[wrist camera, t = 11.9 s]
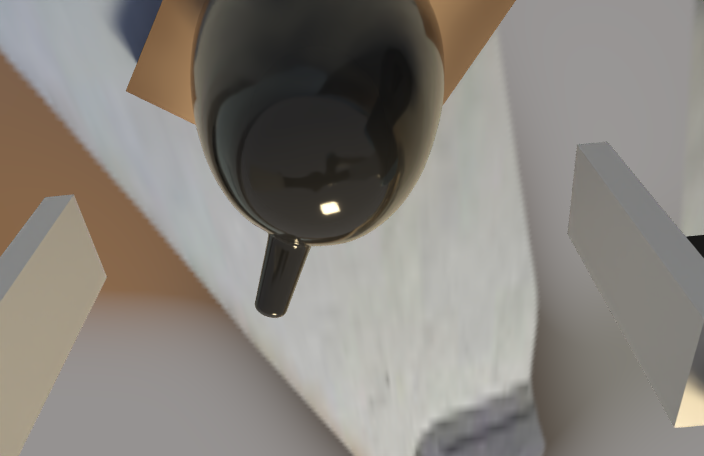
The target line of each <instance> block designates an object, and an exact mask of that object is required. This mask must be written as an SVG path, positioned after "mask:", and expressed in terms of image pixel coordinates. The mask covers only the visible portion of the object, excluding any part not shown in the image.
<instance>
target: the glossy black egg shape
mask: <svg viewBox="0 0 704 456" xmlns="http://www.w3.org/2000/svg"><path fill="white" fill-rule="evenodd" d="M444 85H445V64H444V49H443V42H442V36H441V32H440V28H439V24H438V21H437V18H436V15H435V12H434V10H433V8H432V5H431V3H430V1H429V0H205V1H204V4H203V6H202V8H201V11H200V14H199V17H198V20H197V23H196V27H195V31H194V37H193V43H192V52H191V65H190V88H191V99H192V107H193V113H194V118H195V123H196V127H197V132H198V136H199V139H200V143H201V146H202V149H203V152H204V155H205V158H206V160H207V163H208V165H209V167H210V170H211V172H212V174H213V176H214V178H215V179H216V181H217V183H218V185H219V186H220V188H221V190H222V191H223V193H224V194H225V196H226V197H227V198H228V200H229V201H230V202H231V204H232V205H233V206H234V207H235V208H236V209H237V210H238V211H239V212H240V213H241V214H242V215H243V216H244V217H245V218H246V219H247V220H248V221H250V222H251V223H252V224H254V225H256V226H257V227H259V228H261V229H263V230H265V231H266V232H267V233H268V241H267V246H266V251H265V256H264V261H263V266H262V271H261V276H260V281H259V286H258V291H257V296H256V301H255V307H256V309H257V310H258V312H260V313H261V314H262V315H264V316H267V317H271V318H278V317H281V316H283V315H284V314H285V313H286V312H287V309H288V306H289V304H290V301H291V298H292V296H293V293H294V290H295V288H296V285H297V282H298V280H299V277H300V274H301V272H302V269H303V266H304V264H305V261H306V258H307V256H308V253H309V251H310V248H311V246H328V245H336V244H342V243H346V242H350V241H353V240H356V239H358V238H360V237H362V236H364V235H366V234H368V233H369V232H371V231H373V230H374V229H376V228H377V227H378V226H380V225H381V224H382V223H384V222H385V221H386V220H387V219H388V218H389V217H390V216H391V215H393V214H394V213H395V211H396V210H397V209H398V208H399V207H400V206H401V205H402V204H403V202H404V201H405V200H406V198H407V197H408V195H409V194H410V193H411V191H412V190H413V188H414V186H415V185H416V183H417V181H418V179H419V178H420V176H421V174H422V172H423V169H424V167H425V165H426V162H427V160H428V157H429V155H430V152H431V149H432V146H433V142H434V139H435V136H436V132H437V129H438V125H439V121H440V116H441V111H442V105H443V97H444Z"/></svg>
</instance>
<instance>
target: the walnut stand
mask: <svg viewBox="0 0 704 456" xmlns="http://www.w3.org/2000/svg"><path fill="white" fill-rule="evenodd" d="M204 1H205V0H163V1H162V3H161V6H160V8H159V11H158V13H157V16H156V18H155V20H154V23H153V25H152V28H151V30H150V33H149V35H148V38H147V40H146V43H145V45H144V48H143V50H142V52H141V55H140V57H139V60H138V62H137V65H136V67H135V70H134V72H133V75H132V77H131V79H130V82H129V84H128V87H127V89H126V91H127V92H129V93H131V94H133V95H135V96H137V97H139V98H141V99H143V100H145V101H147V102H150V103H152V104H154V105H156V106H158V107H160V108H162V109H164V110H166V111H168V112H170V113H172V114H174V115H176V116H179V117H181V118H183V119H185V120H187V121H189V122H191V123H193V124H195V125H196V123H195V118H194V113H193V107H192V99H191V88H190V65H191V52H192V43H193V37H194V31H195V27H196V23H197V20H198V17H199V14H200V11H201V8H202V6H203V4H204ZM429 1H430V3H431V5H432V8H433V10H434V12H435V15H436V18H437V21H438V24H439V28H440V32H441V36H442V42H443V49H444V64H445V85H444V97H443V104H444V103H445V101H446V100H447V99H448V97H449V96H450V94H451V93H452V91H453V90H454V88H455V87H456V86H457V84H458V83H459V81H460V80H461V78H462V77H463V76H464V74H465V73H466V71H467V70H468V68H469V67H470V66H471V64H472V63H473V61H474V60H475V58H476V57H477V55H478V54H479V53H480V51H481V50H482V48H483V47H484V45H485V44H486V43H487V41H488V40H489V38H490V37H491V35H492V34H493V33H494V31H495V30H496V28H497V27H498V25H499V24H500V22H501V21H502V20H503V18H504V17H505V15H506V14H507V12H508V11H509V10H510V8H511V7H512V5H513V4H514V2H515V1H516V0H429ZM442 106H443V105H442Z"/></svg>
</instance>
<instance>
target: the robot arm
mask: <svg viewBox="0 0 704 456" xmlns="http://www.w3.org/2000/svg"><path fill="white" fill-rule="evenodd" d="M568 235H569V237H570V239H571V241H572V243H573V244H574V246H575V248H576V250H577V252H578V254H579V255H580V257H581V259H582V261H583V263H584V265H585V266H586V268H587V270H588V272H589V273H590V275H591V277H592V279H593V281H594V283H595V284H596V286H597V288H598V290H599V292H600V294H601V295H602V297H603V299H604V301H605V303H606V305H607V306H608V308H609V310H610V312H611V314H612V315H613V317H614V319H615V321H616V323H617V324H618V326H619V328H620V330H621V332H622V334H623V335H624V337H625V339H626V341H627V343H628V345H629V346H630V348H631V350H632V352H633V354H634V355H635V357H636V359H637V361H638V363H639V365H640V366H641V368H642V370H643V372H644V374H645V375H646V377H647V379H648V381H649V382H650V384H651V386H652V388H653V390H654V392H655V394H656V395H657V397H658V399H659V401H660V403H661V405H662V406H663V408H664V410H665V412H666V413H667V415H668V417H669V419H670V421H671V423H672V424H673V426H674V428H676V427H688V426H701V425H704V235H698V236H688V237H686V236H685V235H684V234H683V233H682V231H681V230H680V229H679V228H678V227H677V225H676V224H675V223H674V222H673V221H672V219H671V218H670V217H669V216H668V215H667V213H666V212H665V211H664V210H663V208H662V207H661V206H660V205H659V204H658V202H657V201H656V200H655V199H654V197H653V196H652V195H651V194H650V193H649V191H648V190H647V189H646V188H645V187H644V185H643V184H642V183H641V182H640V181H639V179H638V178H637V177H636V176H635V174H634V173H633V172H632V171H631V170H630V168H628V166H627V165H626V164H625V162H624V161H623V160H622V159H621V158H620V156H619V155H618V154H617V153H616V151H615V150H614V149H613V148H612V147H611V145H610V144H609V143H608V142H599V143H589V144H579V145H577V151H576V161H575V169H574V179H573V188H572V197H571V206H570V215H569V225H568ZM106 277H107V276H106V274H105V272H104V269H103V266H102V264H101V262H100V259H99V256H98V254H97V251H96V249H95V247H94V244H93V241H92V239H91V236H90V234H89V231H88V229H87V227H86V224H85V221H84V219H83V216H82V214H81V212H80V209H79V206H78V204H77V201H76V199H75V196H74V195H66V196H54V197H46V198H45V199H44V200H43V201H42V202H41V204H40V205H39V206H38V208H37V209H36V211H35V212H34V213H33V215H32V216H31V217H30V219H29V220H28V221H27V222H26V224H25V225H24V227H23V228H22V229H21V230H20V232H19V233H18V234H17V236H16V237H15V238H14V240H13V241H12V242H11V244H10V245H9V246H8V248H7V249H6V251H5V252H4V253H3V254H2V256H1V257H0V456H19V454H20V452H21V450H22V448H23V446H24V444H25V442H26V440H27V438H28V436H29V434H30V432H31V430H32V428H33V426H34V424H35V422H36V420H37V418H38V416H39V414H40V412H41V410H42V408H43V406H44V404H45V402H46V399H47V398H48V395H49V393H50V391H51V389H52V387H53V385H54V383H55V381H56V379H57V377H58V375H59V373H60V371H61V369H62V367H63V365H64V363H65V361H66V359H67V357H68V355H69V353H70V351H71V349H72V347H73V344H74V343H75V341H76V338H77V337H78V334H79V332H80V330H81V328H82V326H83V324H84V322H85V320H86V318H87V316H88V314H89V312H90V310H91V308H92V306H93V304H94V302H95V300H96V298H97V296H98V294H99V292H100V289H101V288H102V286H103V284H104V282H105V279H106Z"/></svg>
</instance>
